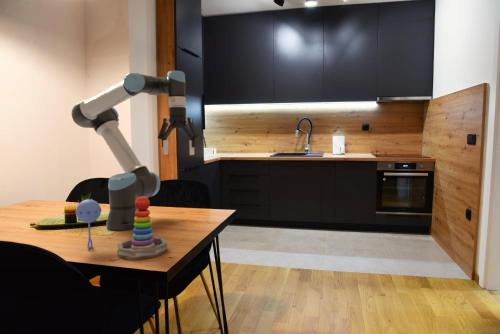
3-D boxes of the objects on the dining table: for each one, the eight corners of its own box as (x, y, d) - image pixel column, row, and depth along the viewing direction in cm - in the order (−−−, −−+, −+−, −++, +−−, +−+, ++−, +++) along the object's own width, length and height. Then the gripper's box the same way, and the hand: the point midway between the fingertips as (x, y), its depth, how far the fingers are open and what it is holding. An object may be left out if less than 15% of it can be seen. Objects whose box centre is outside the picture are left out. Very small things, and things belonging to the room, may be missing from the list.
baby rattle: (82, 244, 140) (80, 197, 138) (106, 243, 141) (103, 197, 139) (73, 252, 131) (70, 202, 130) (98, 251, 132) (96, 201, 130)
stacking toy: (148, 253, 126) (146, 199, 124) (127, 251, 128) (124, 198, 126) (158, 245, 134) (156, 194, 132) (138, 244, 136) (136, 194, 134)
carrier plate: (106, 256, 126) (106, 248, 126) (138, 242, 142) (138, 234, 142) (147, 262, 120) (147, 253, 120) (176, 246, 136) (176, 238, 136)
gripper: (148, 107, 165) (150, 154, 167) (197, 105, 156) (199, 155, 158) (158, 108, 172) (160, 153, 174) (206, 106, 163) (207, 154, 165)
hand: (178, 154), depth 166 cm, fingers open, 13 cm apart
